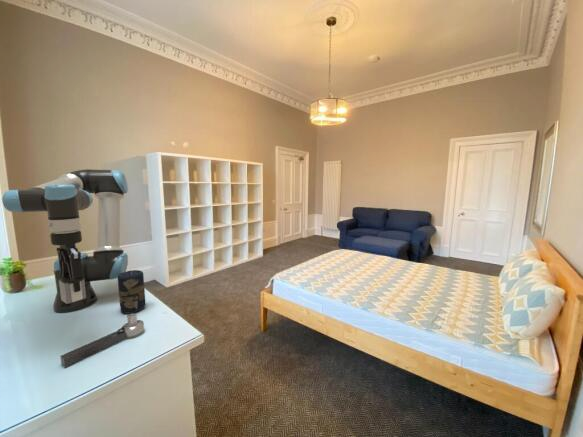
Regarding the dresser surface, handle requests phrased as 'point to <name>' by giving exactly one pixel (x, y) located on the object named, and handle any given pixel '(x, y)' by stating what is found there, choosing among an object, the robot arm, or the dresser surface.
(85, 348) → the ratchet
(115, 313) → the dresser surface
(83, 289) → the socket
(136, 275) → the canister
